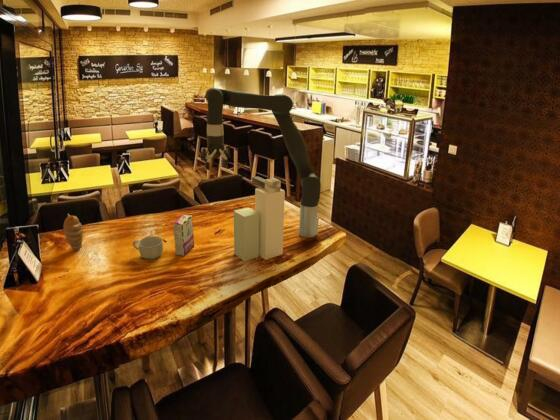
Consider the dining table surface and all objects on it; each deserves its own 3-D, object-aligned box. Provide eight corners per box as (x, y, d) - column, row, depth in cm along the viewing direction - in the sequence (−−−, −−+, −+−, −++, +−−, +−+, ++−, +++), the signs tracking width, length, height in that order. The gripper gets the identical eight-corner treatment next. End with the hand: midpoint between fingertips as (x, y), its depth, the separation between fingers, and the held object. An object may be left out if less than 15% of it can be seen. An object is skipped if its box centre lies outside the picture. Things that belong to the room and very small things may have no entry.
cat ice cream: (64, 249, 182) (57, 214, 175) (81, 244, 187) (75, 210, 181) (71, 256, 176) (65, 219, 170) (89, 250, 182) (83, 215, 175)
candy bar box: (185, 245, 190) (183, 214, 184) (194, 246, 189) (192, 215, 184) (174, 255, 180) (172, 222, 174) (184, 256, 179) (182, 224, 173)
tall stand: (271, 247, 191) (273, 185, 179) (282, 254, 184) (284, 190, 173) (254, 252, 185) (255, 188, 174) (265, 259, 178) (266, 194, 167)
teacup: (168, 253, 181) (167, 238, 178) (154, 263, 172) (152, 247, 169) (143, 248, 185) (142, 233, 183) (128, 258, 176) (126, 242, 173)
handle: (259, 182, 184) (259, 171, 182) (280, 191, 171) (280, 180, 169) (250, 183, 181) (250, 173, 179) (271, 193, 168) (271, 182, 167)
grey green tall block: (248, 249, 187) (248, 207, 180) (258, 256, 181) (259, 213, 173) (234, 253, 183) (233, 210, 175) (244, 261, 176) (244, 216, 168)
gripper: (224, 131, 182) (225, 165, 188) (197, 133, 174) (198, 168, 180) (233, 134, 176) (233, 168, 182) (204, 136, 168) (206, 172, 174)
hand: (216, 168), depth 181 cm, fingers open, 8 cm apart
